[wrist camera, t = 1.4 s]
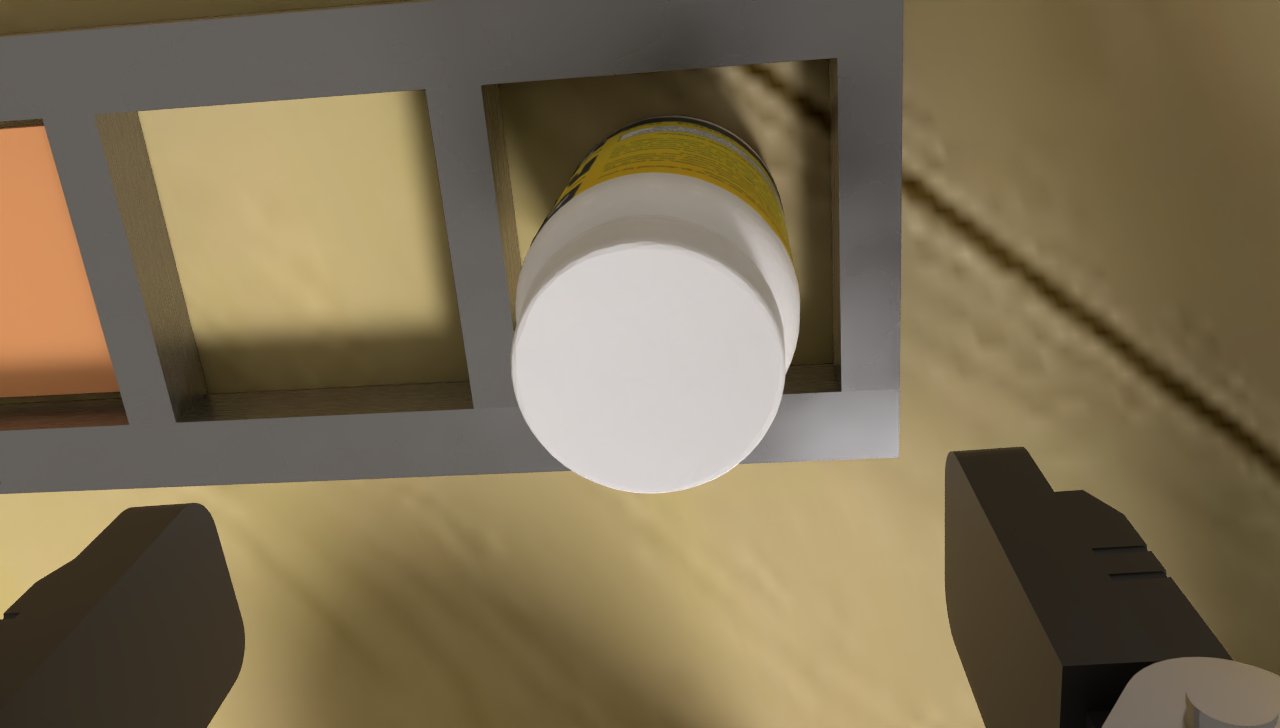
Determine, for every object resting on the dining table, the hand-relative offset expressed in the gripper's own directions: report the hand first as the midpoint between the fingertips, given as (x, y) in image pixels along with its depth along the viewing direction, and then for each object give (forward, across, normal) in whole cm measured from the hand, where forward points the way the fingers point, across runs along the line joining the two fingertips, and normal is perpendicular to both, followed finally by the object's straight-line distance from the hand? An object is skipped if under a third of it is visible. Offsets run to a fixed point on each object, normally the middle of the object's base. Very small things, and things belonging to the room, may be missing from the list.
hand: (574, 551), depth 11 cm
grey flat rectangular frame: (+13, +7, -1) cm, 14 cm away
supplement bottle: (+13, -1, 0) cm, 13 cm away
